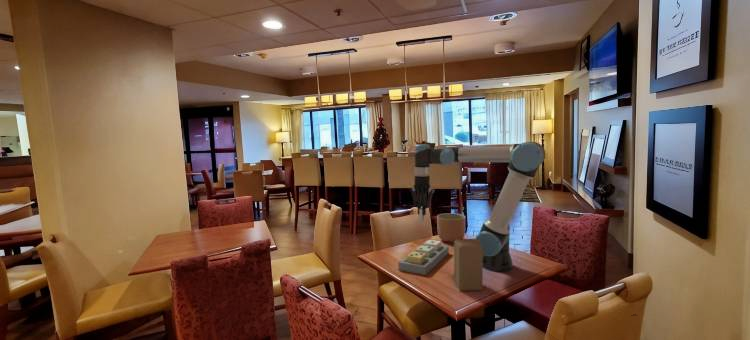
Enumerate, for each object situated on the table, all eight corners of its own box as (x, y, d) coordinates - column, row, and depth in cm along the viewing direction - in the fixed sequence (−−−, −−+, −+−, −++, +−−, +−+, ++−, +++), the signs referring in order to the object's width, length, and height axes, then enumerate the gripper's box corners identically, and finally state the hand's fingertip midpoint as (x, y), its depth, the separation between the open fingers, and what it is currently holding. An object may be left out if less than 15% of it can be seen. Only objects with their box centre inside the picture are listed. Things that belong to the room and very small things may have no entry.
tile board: (448, 253, 199) (448, 246, 199) (425, 275, 170) (425, 267, 169) (424, 249, 206) (424, 242, 205) (398, 270, 177) (398, 262, 176)
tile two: (433, 254, 189) (433, 246, 188) (428, 258, 183) (428, 250, 182) (421, 252, 192) (421, 244, 192) (416, 256, 186) (416, 248, 186)
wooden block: (475, 281, 162) (476, 237, 160) (483, 291, 152) (483, 245, 150) (453, 282, 161) (453, 238, 159) (459, 291, 152) (459, 245, 149)
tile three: (425, 261, 179) (425, 253, 179) (420, 266, 173) (420, 257, 173) (412, 259, 183) (412, 251, 182) (407, 263, 177) (407, 255, 176)
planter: (471, 241, 219) (471, 217, 217) (450, 246, 210) (450, 221, 209) (452, 234, 233) (452, 211, 232) (431, 239, 225) (431, 215, 223)
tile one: (440, 248, 198) (440, 241, 198) (436, 252, 192) (436, 244, 192) (428, 246, 202) (428, 239, 201) (424, 250, 196) (424, 242, 195)
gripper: (437, 175, 181) (436, 221, 183) (413, 173, 187) (413, 217, 190) (431, 177, 174) (430, 224, 177) (407, 175, 181) (406, 221, 184)
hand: (421, 221), depth 184 cm, fingers closed
